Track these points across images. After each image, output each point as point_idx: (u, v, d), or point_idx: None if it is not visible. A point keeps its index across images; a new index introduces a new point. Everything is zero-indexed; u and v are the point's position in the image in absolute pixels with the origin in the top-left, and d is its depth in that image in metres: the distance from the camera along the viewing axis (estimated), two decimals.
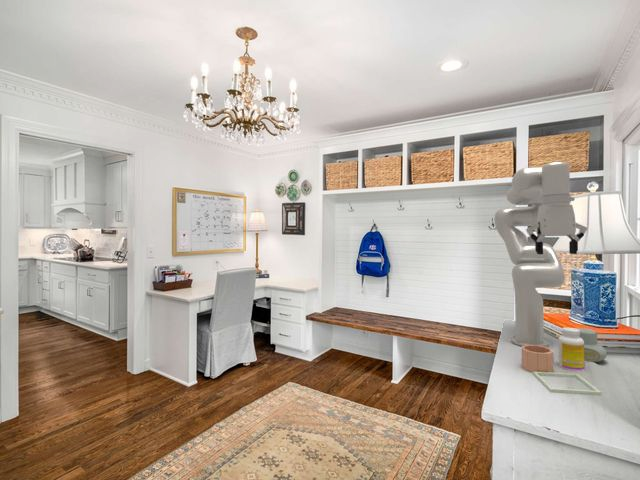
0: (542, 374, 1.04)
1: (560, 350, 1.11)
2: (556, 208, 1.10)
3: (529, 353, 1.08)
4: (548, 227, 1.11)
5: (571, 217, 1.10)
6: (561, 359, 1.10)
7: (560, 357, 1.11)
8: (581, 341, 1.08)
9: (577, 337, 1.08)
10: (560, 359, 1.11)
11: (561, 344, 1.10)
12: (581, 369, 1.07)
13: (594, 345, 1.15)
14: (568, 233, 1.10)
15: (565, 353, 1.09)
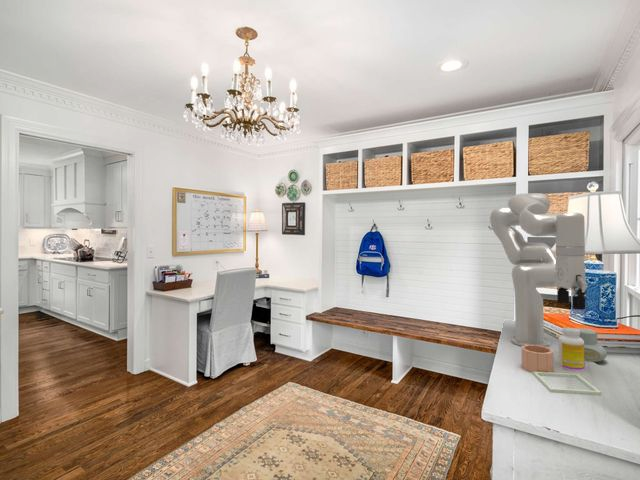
0: (542, 374, 1.04)
1: (560, 350, 1.11)
2: None
3: (529, 353, 1.08)
4: None
5: None
6: (561, 359, 1.10)
7: (560, 357, 1.11)
8: (581, 341, 1.08)
9: (577, 337, 1.08)
10: (560, 359, 1.11)
11: (561, 344, 1.10)
12: (581, 369, 1.07)
13: (594, 345, 1.15)
14: None
15: (565, 353, 1.09)
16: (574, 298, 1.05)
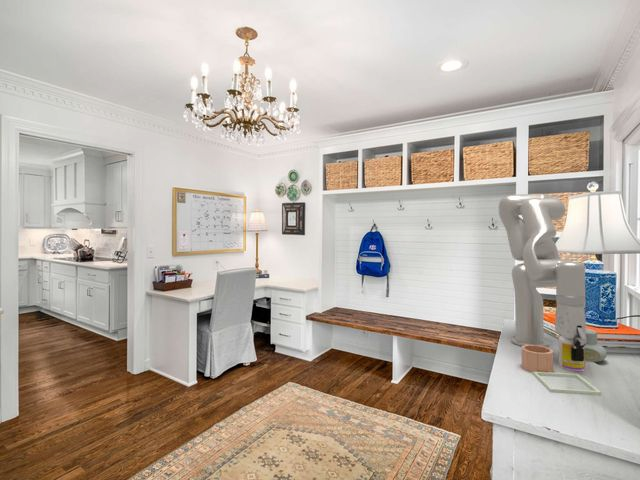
0: (542, 374, 1.04)
1: (560, 350, 1.11)
2: None
3: (529, 353, 1.08)
4: None
5: None
6: (561, 359, 1.10)
7: (560, 357, 1.11)
8: None
9: (577, 337, 1.08)
10: (560, 359, 1.11)
11: (561, 344, 1.10)
12: (581, 369, 1.07)
13: (594, 345, 1.15)
14: None
15: (565, 353, 1.09)
16: (573, 350, 1.07)
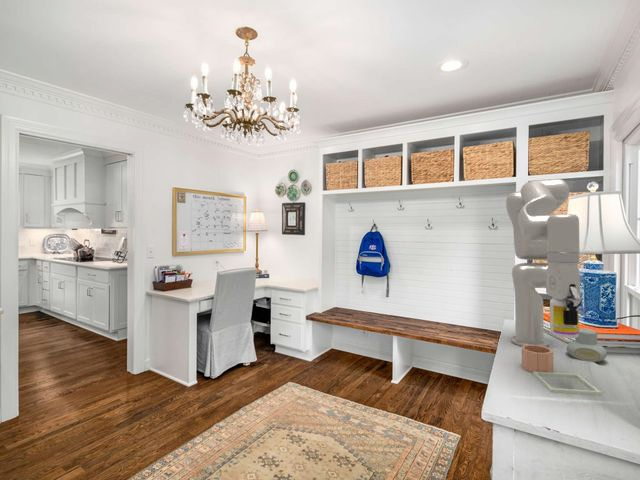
0: (542, 374, 1.04)
1: (551, 314, 0.98)
2: None
3: (529, 353, 1.08)
4: None
5: None
6: (553, 324, 0.98)
7: (551, 322, 0.99)
8: None
9: (570, 298, 0.96)
10: (551, 324, 0.99)
11: (553, 307, 0.98)
12: (575, 334, 0.95)
13: (594, 345, 1.15)
14: None
15: (557, 317, 0.97)
16: (565, 312, 0.94)
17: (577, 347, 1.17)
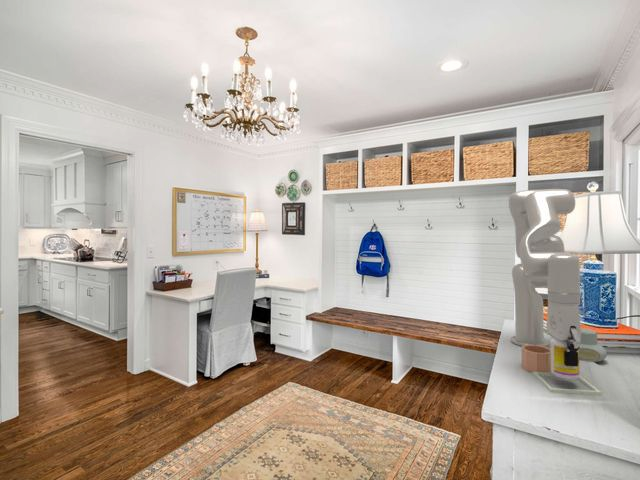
0: (542, 374, 1.04)
1: (552, 353, 0.99)
2: None
3: (529, 353, 1.08)
4: None
5: None
6: (554, 364, 0.98)
7: (552, 361, 0.99)
8: None
9: (571, 339, 0.96)
10: (552, 363, 0.99)
11: (553, 347, 0.98)
12: (575, 375, 0.95)
13: (594, 345, 1.15)
14: None
15: (557, 357, 0.97)
16: (566, 353, 0.95)
17: None
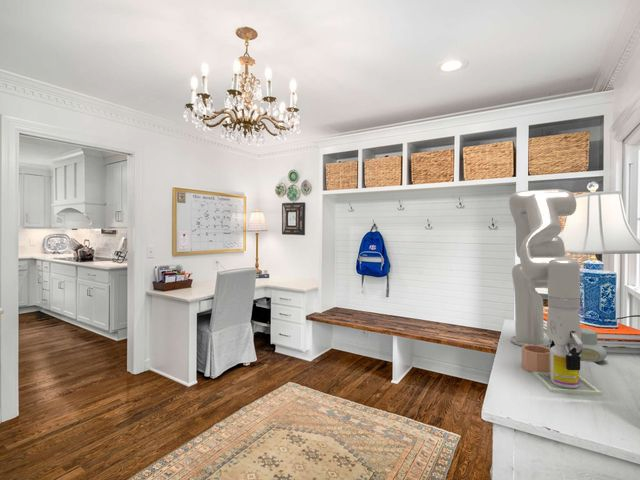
0: (542, 374, 1.04)
1: (552, 363, 0.99)
2: None
3: (529, 353, 1.08)
4: None
5: None
6: (553, 373, 0.98)
7: (552, 370, 0.99)
8: None
9: (570, 348, 0.97)
10: (552, 373, 0.99)
11: (553, 356, 0.98)
12: (575, 384, 0.96)
13: (594, 345, 1.15)
14: None
15: (557, 367, 0.97)
16: (568, 357, 0.94)
17: None
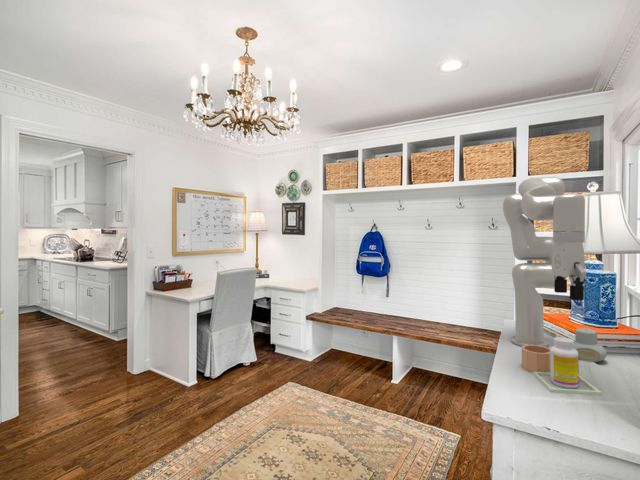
0: (542, 374, 1.04)
1: (552, 363, 0.99)
2: None
3: (529, 353, 1.08)
4: None
5: None
6: (553, 373, 0.98)
7: (552, 370, 0.99)
8: (575, 353, 0.96)
9: (571, 348, 0.97)
10: (552, 373, 0.99)
11: (553, 356, 0.98)
12: (575, 384, 0.96)
13: (594, 345, 1.15)
14: None
15: (557, 367, 0.97)
16: (572, 288, 0.96)
17: (577, 346, 1.17)
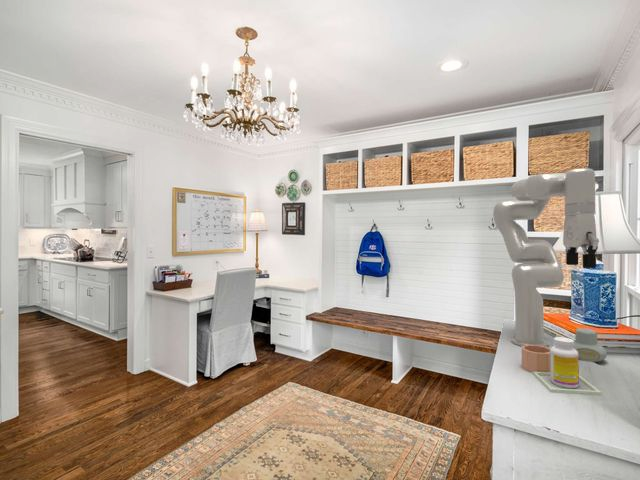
0: (542, 374, 1.04)
1: (552, 363, 0.99)
2: None
3: (529, 353, 1.08)
4: None
5: None
6: (553, 373, 0.98)
7: (552, 370, 0.99)
8: (575, 353, 0.96)
9: (571, 348, 0.97)
10: (552, 373, 0.99)
11: (553, 356, 0.98)
12: (575, 384, 0.96)
13: (594, 345, 1.15)
14: None
15: (557, 367, 0.97)
16: (584, 256, 1.01)
17: (577, 347, 1.17)
